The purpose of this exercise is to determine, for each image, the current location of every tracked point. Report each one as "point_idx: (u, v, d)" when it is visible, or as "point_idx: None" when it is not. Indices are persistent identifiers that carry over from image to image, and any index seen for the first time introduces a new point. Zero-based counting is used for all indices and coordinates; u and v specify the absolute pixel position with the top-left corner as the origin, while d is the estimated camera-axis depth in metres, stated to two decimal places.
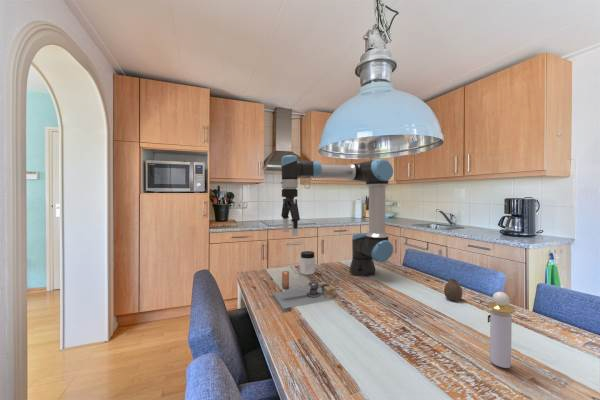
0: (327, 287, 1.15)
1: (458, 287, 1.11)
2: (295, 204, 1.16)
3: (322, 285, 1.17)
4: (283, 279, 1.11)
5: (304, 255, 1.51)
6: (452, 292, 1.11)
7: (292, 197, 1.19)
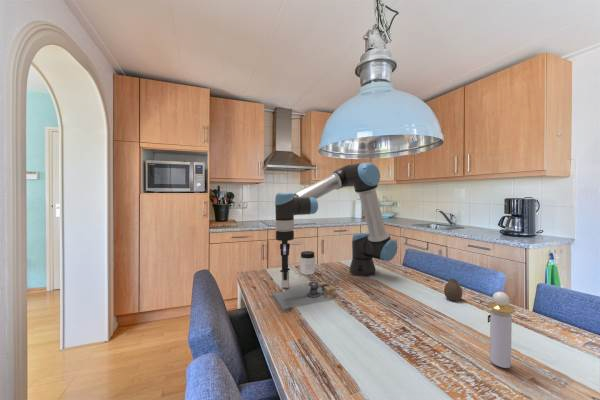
0: (327, 287, 1.15)
1: (458, 287, 1.11)
2: (285, 255, 1.03)
3: (322, 285, 1.17)
4: None
5: (304, 255, 1.51)
6: (452, 292, 1.11)
7: (284, 241, 1.04)
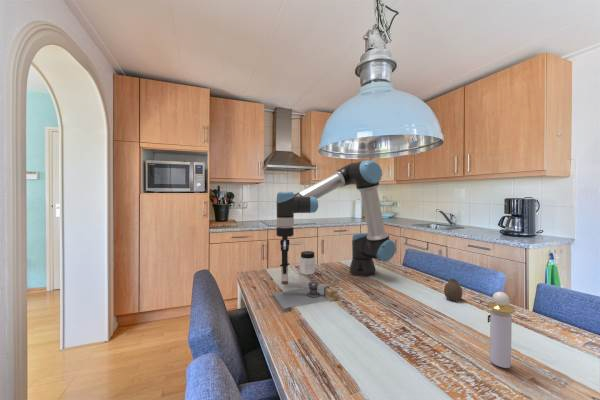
0: (329, 289, 1.12)
1: (458, 287, 1.11)
2: (285, 250, 1.09)
3: (322, 286, 1.15)
4: (281, 274, 1.17)
5: (304, 255, 1.51)
6: (452, 292, 1.11)
7: (285, 237, 1.11)
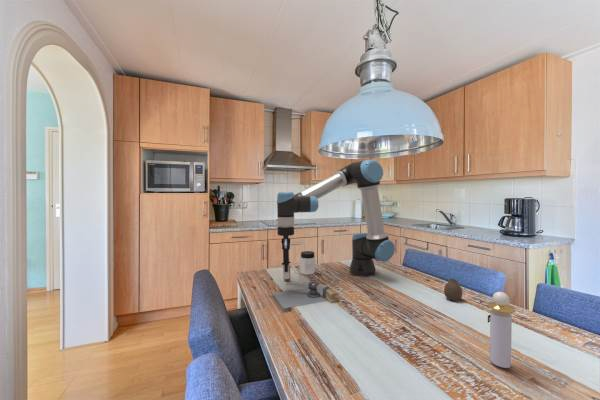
0: (330, 291, 1.10)
1: (458, 287, 1.11)
2: (286, 249, 1.12)
3: (321, 287, 1.14)
4: None
5: (304, 255, 1.51)
6: (452, 292, 1.11)
7: (285, 236, 1.14)
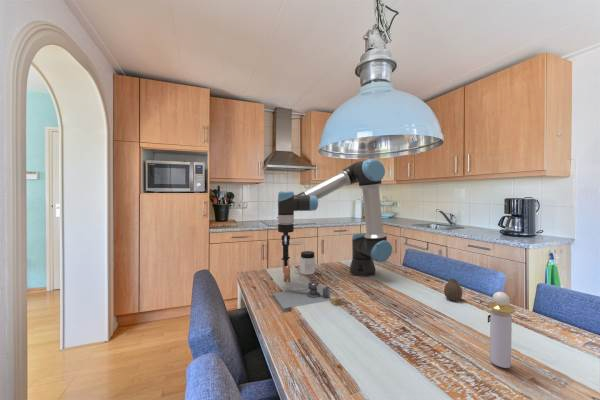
0: (336, 303, 1.06)
1: (458, 287, 1.11)
2: (286, 245, 1.19)
3: (321, 287, 1.14)
4: None
5: (304, 255, 1.51)
6: (452, 292, 1.11)
7: (285, 233, 1.21)
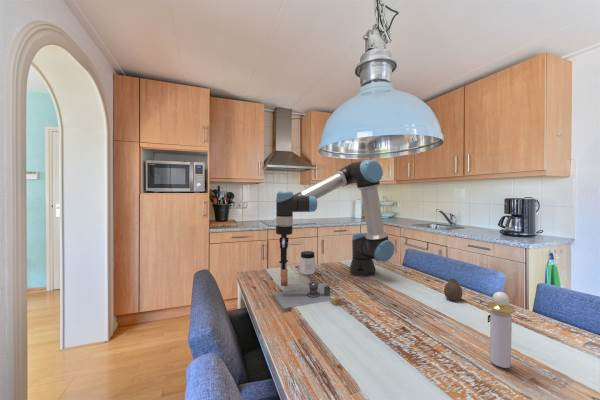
0: (336, 303, 1.06)
1: (458, 287, 1.11)
2: (284, 248, 1.14)
3: (322, 286, 1.15)
4: (281, 276, 1.15)
5: (304, 255, 1.51)
6: (452, 292, 1.11)
7: (283, 235, 1.15)
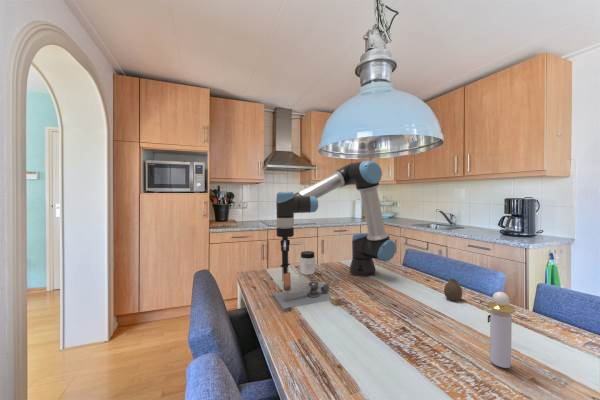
0: (336, 303, 1.06)
1: (458, 287, 1.11)
2: (285, 251, 1.08)
3: (322, 284, 1.17)
4: (285, 280, 1.09)
5: (304, 255, 1.51)
6: (452, 292, 1.11)
7: (285, 237, 1.10)
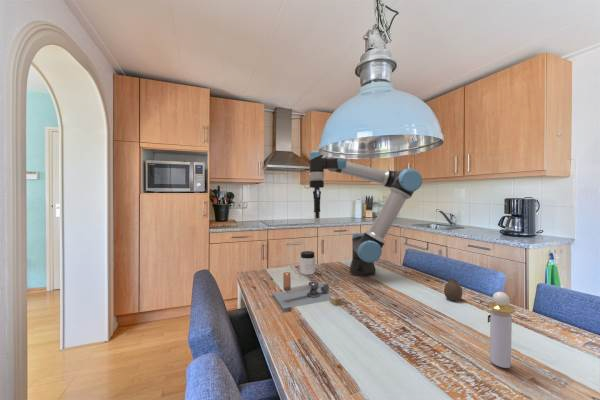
0: (336, 303, 1.06)
1: (458, 287, 1.11)
2: (318, 197, 1.35)
3: (322, 284, 1.17)
4: (285, 280, 1.09)
5: (304, 255, 1.51)
6: (452, 292, 1.11)
7: (317, 187, 1.36)
